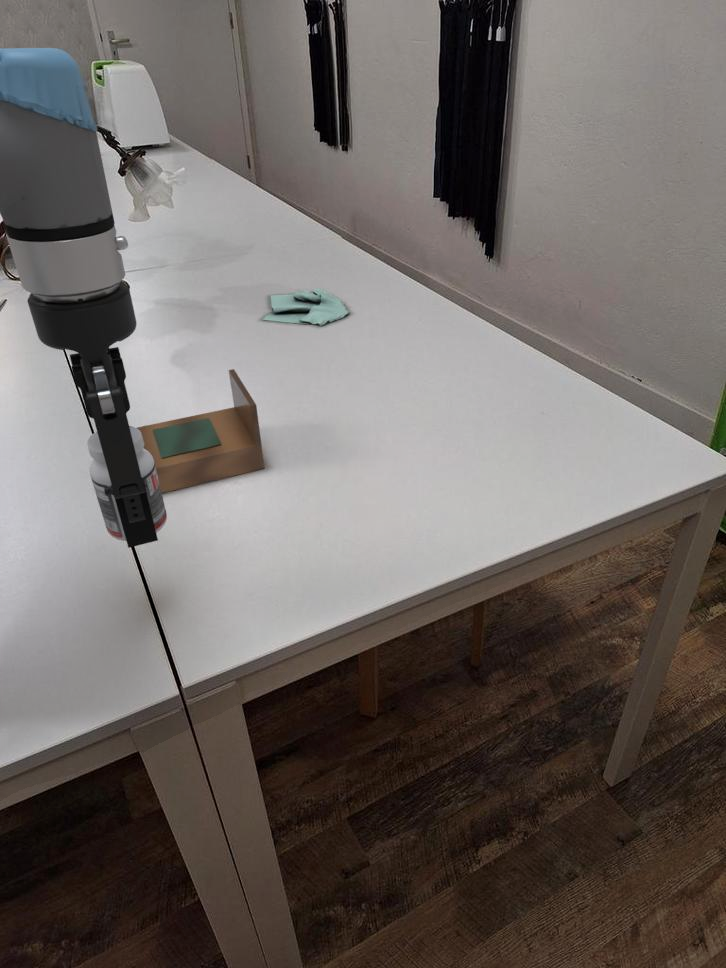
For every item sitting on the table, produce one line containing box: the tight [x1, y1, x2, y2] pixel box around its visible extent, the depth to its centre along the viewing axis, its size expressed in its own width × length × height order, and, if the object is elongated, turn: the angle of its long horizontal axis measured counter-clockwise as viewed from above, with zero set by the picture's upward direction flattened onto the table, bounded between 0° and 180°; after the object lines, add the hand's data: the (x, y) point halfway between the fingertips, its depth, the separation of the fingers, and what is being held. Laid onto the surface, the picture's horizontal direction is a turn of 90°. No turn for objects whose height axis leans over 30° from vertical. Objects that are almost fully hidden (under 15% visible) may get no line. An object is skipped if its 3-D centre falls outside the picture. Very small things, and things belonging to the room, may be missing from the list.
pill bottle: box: [86, 425, 168, 542], centre depth 61 cm, size 6×6×10 cm
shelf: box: [136, 368, 265, 494], centre depth 90 cm, size 16×12×10 cm
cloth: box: [262, 287, 350, 327], centre depth 142 cm, size 20×22×2 cm
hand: (138, 522), depth 64 cm, fingers closed on pill bottle, 6 cm apart
